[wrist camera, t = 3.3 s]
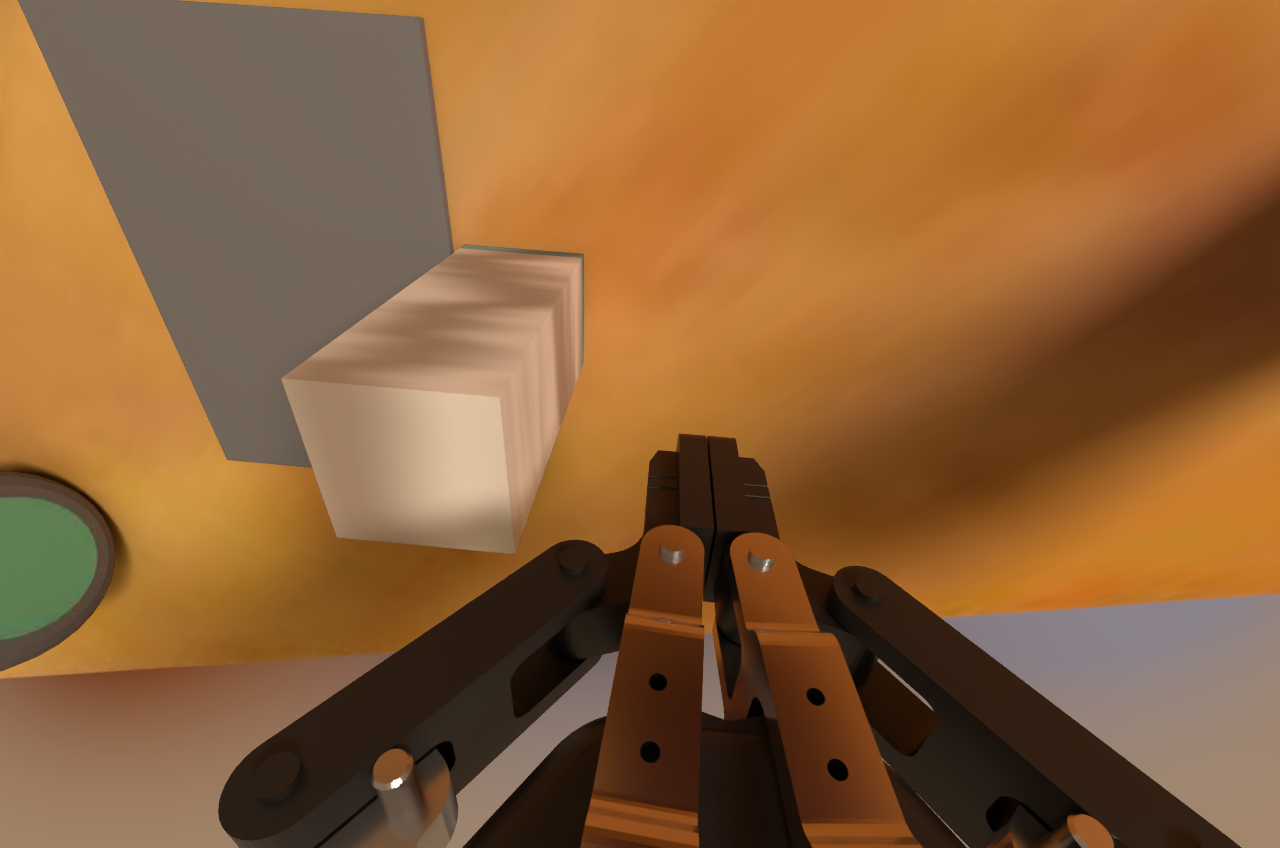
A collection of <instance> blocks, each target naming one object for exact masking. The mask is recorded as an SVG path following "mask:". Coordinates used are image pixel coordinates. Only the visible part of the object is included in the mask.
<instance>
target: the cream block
mask: <svg viewBox="0 0 1280 848" xmlns="http://www.w3.org/2000/svg"><path fill="white" fill-rule="evenodd" d="M583 343H584V254H577V253H564V252H551V251H539V250H526V249H514V248H501V247H489V246H476V245H464V246H462V247H461V248H459V249H458V250H457V251H455V252H454V253H453V254H451V255H450V256H448V257H447V258H446V259H444V260H443V261H442V262H440V263H439V264H437V265H436V266H435V267H433V268H432V269H431V270H429V271H428V272H426V273H425V274H424V275H422V276H421V277H420V278H418V279H417V280H415V281H414V282H413V283H411V284H410V285H409V286H407V287H406V288H405V289H403V290H402V291H400V292H399V293H398V294H396V295H395V296H394V297H392V298H391V299H389V300H388V301H387V302H385V303H384V304H383V305H381V306H380V307H378V308H377V309H376V310H374V311H373V312H372V313H370V314H369V315H367V316H366V317H365V318H363V319H362V320H361V321H359V322H358V323H356V324H355V325H354V326H352V327H351V328H350V329H348V330H347V331H345V332H344V333H343V334H341V335H340V336H339V337H337V338H336V339H334V340H333V341H332V342H330V343H329V344H328V345H326V346H325V347H323V348H322V349H321V350H319V351H318V352H317V353H315V354H314V355H312V356H311V357H310V358H308V359H307V360H306V361H304V362H303V363H301V364H300V365H299V366H297V367H296V368H295V369H293V370H292V371H290V372H289V373H288V374H286V375H285V376H284V377H282V378H281V380H282V382H283V385H284V388H285V391H286V394H287V397H288V400H289V402H290V405H291V408H292V411H293V414H294V417H295V420H296V422H297V425H298V428H299V431H300V434H301V437H302V440H303V442H304V445H305V448H306V451H307V454H308V457H309V460H310V462H311V465H312V468H313V471H314V474H315V477H316V480H317V482H318V485H319V488H320V491H321V494H322V497H323V500H324V502H325V505H326V508H327V511H328V514H329V517H330V520H331V522H332V525H333V528H334V531H335V534H336V537H337V538H346V539H357V540H368V541H378V542H389V543H400V544H410V545H421V546H432V547H442V548H453V549H464V550H475V551H485V552H496V553H507V554H515V553H516V550H517V547H518V544H519V542H520V539H521V536H522V533H523V530H524V528H525V525H526V522H527V519H528V516H529V514H530V511H531V508H532V505H533V502H534V500H535V497H536V494H537V491H538V488H539V486H540V483H541V480H542V477H543V474H544V472H545V469H546V466H547V463H548V460H549V458H550V455H551V452H552V449H553V446H554V444H555V441H556V438H557V435H558V432H559V430H560V427H561V424H562V421H563V418H564V416H565V413H566V410H567V407H568V404H569V402H570V399H571V396H572V393H573V390H574V388H575V385H576V382H577V379H578V376H579V374H580V371H581V368H582V365H583Z"/></svg>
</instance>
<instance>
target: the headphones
mask: <svg viewBox="0 0 1280 848" xmlns="http://www.w3.org/2000/svg"><path fill="white" fill-rule="evenodd" d="M114 565H115V547H114V543H113V539H112V535H111V531H110V529H109V527H108V525H107V523H106V521H105V520H104V518H103V516H102V515H101V514H100V512H99V511H98V510H97V509H96V508H95V507H94V505H93V504H92V503H91V502H90V501H88V500H87V499H86V498H84V497H83V496H82V495H81V494H79V493H78V492H77V491H75V490H73V489H71V488H69V487H67V486H65V485H63V484H61V483H59V482H56V481H53V480H50V479H47V478H44V477H41V476H38V475H31V474H25V473H19V472H10V471H0V671H3V670H6V669H8V668H11V667H13V666H16V665H18V664H21V663H23V662H26V661H28V660H31V659H33V658H35V657H37V656H39V655H41V654H43V653H44V652H46V651H48V650H50V649H52V648H53V647H55V646H57V645H59V644H60V643H61V642H62V641H64V640H65V639H66V638H68V637H69V636H70V635H71V634H73V633H74V632H75V631H77V630H78V629H79V628H80V627H81V626H82V625H83V624H84V622H85V621H86V620H87V619H88V618H89V617H90V616H91V615H92V614H93V613H94V611H95V610H96V608H97V607H98V605H99V604H100V602H101V601H102V599H103V598H104V596H105V593H106V591H107V589H108V587H109V584H110V582H111V579H112V574H113V570H114Z"/></svg>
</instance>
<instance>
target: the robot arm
mask: <svg viewBox="0 0 1280 848" xmlns="http://www.w3.org/2000/svg"><path fill="white" fill-rule="evenodd" d="M702 598H703V601H705V602H715V613H716V615H715V619H714V624H713V629H712V631H713V640H714V646H715V653H716V660H717V666H718V673H719V680H720V686H721V693H722V700H723V707H724V720H723V719H721V718H718V717H715V716H712V715H709V714H707V713H704V712H702V709H701V708H702V684H703V656H704V625H702ZM615 651H619V654H618V659H617V664H616V670H615V675H614V680H613V685H612V691H611V696H610V701H609V707H608V712H607V716H605V717H602V718H599V719H596V720H594V721H591V722H589V723H587V724H585V725H583V726H582V727H580V728H579V729H577V730H575V731H574V732H572V733H571V734H570V735H569V736H567V737H566V738H565V739H564V740H563V741H561V742H560V743H559V744H558V745H557V746H556V747H555V748H554V749H553V751H552V752H551V753H550V754H549V755H548V756H547V757H546V758H545V759H544V760H543V761H542V763H540V764H539V766H538V767H537V768H536V769H535V770H534V771H533V772H532V773H531V774H530V775H529V776H528V778H526V780H525V781H524V782H523V783H522V784H521V785H520V786H519V787H518V788H517V789H516V790H515V792H513V794H512V795H511V796H510V797H509V798H508V799H507V800H506V801H505V802H504V803H503V804H502V806H500V808H499V809H498V810H497V811H496V812H495V813H494V814H493V815H492V816H491V817H490V818H489V819H488V820H487V822H486V823H485V824H484V825H483V826H482V827H481V828H480V829H479V830H478V831H477V832H476V833H475V835H474V836H473V837H472V838H471V839H470V840H469V841H468V842H467V843H466V844H465V845H464V846H463V848H967V847H965V845H964V844H963V843H962V842H961V841H960V840H959V839H958V838H957V837H956V836H955V834H954V833H953V832H952V831H951V830H950V829H949V828H948V827H947V826H946V825H945V824H944V823H943V821H944V822H945V823H946V824H947V825H948V826H949V827H950V828H951V829H952V830H953V831H954V832H955V833H956V834H957V835H958V836H959V837H960V838H961V839H962V840H963V841H964V842H965V843H966V844H967V845H968V846H969V847H970V848H1241V847H1240V846H1238V845H1237V844H1236V843H1235V842H1234V841H1233V840H1231V839H1230V838H1229V837H1227V836H1226V835H1225V834H1223V833H1222V832H1221V831H1219V830H1218V829H1217V828H1216V827H1214V826H1213V825H1212V824H1210V823H1209V822H1207V821H1206V820H1205V819H1204V818H1202V817H1201V816H1200V815H1198V814H1197V813H1196V812H1195V811H1193V810H1192V809H1191V808H1189V807H1188V806H1187V805H1185V804H1184V803H1183V802H1181V801H1180V800H1179V799H1177V798H1176V797H1175V796H1173V795H1172V794H1171V793H1169V792H1168V791H1167V790H1165V789H1164V788H1163V787H1162V786H1160V785H1159V784H1158V783H1156V782H1155V781H1154V780H1152V779H1151V778H1150V777H1149V776H1147V775H1146V774H1145V773H1143V772H1142V771H1140V770H1139V769H1138V768H1137V767H1135V766H1134V765H1133V764H1131V763H1130V762H1129V761H1127V760H1126V759H1125V758H1124V757H1122V756H1121V755H1120V754H1118V753H1117V752H1116V751H1114V750H1113V749H1112V748H1110V747H1109V746H1108V745H1107V744H1105V743H1104V742H1103V741H1101V740H1100V739H1099V738H1097V737H1096V736H1095V735H1093V734H1092V733H1091V732H1089V731H1088V730H1087V729H1086V728H1084V727H1083V726H1081V725H1080V724H1079V723H1078V722H1076V721H1075V720H1073V719H1072V718H1071V717H1070V716H1068V715H1067V714H1065V713H1064V712H1063V711H1062V710H1061V709H1059V708H1058V707H1056V706H1055V705H1054V704H1053V703H1051V702H1050V701H1049V700H1047V699H1046V698H1045V697H1044V696H1042V695H1041V694H1040V693H1038V692H1037V691H1036V690H1034V689H1033V688H1032V687H1030V686H1029V685H1028V684H1026V683H1025V682H1024V681H1023V680H1021V679H1020V678H1018V677H1017V676H1016V675H1015V674H1013V673H1012V672H1011V671H1009V670H1008V669H1007V668H1005V667H1004V666H1003V665H1001V664H1000V663H999V662H998V661H996V660H995V659H994V658H992V657H991V656H990V655H988V654H987V653H986V652H984V651H983V650H982V649H981V648H979V647H978V646H977V645H975V644H974V643H973V642H971V641H970V640H968V639H967V638H966V637H965V636H963V635H962V634H961V633H960V632H958V631H957V630H956V629H954V628H953V627H952V626H950V625H949V624H948V623H946V622H945V621H944V620H942V619H941V618H940V617H939V616H937V615H936V614H935V613H933V612H932V611H931V610H929V609H928V608H927V607H925V606H924V605H923V604H921V603H920V602H919V601H917V600H916V599H915V598H914V597H912V596H911V595H910V594H908V593H907V592H906V591H904V590H903V589H902V588H900V587H899V586H898V585H896V584H895V583H894V582H893V581H891V580H890V579H889V578H887V577H886V576H884V575H883V574H881V573H879V572H877V571H875V570H873V569H870V568H866V567H862V566H848V567H844V568H842V569H840V570H839V571H838V572H837V573H836V574H835V576H834V577H833V576H830V575H827V574H824V573H821V572H818V571H815V570H813V569H810V568H807V567H805V566H803V565H802V564H800V563H798V562H797V561H795V560H794V557H793V554H792V552H791V551H790V549H789V548H788V547H787V546H786V545H785V544H784V543H783V542H781V541H780V538H779V534H778V529H777V525H776V520H775V516H774V512H773V507H772V503H771V499H770V494H769V490H768V488H767V481H766V476H765V472H764V470H763V469H762V468H761V467H760V465H759V464H758V463H757V462H756V461H755V459H754V458H742V457H739V456H738V450H737V444H736V439H735V438H726V437H715V436H708V437H707V438H706V436H702V435H690V434H679V436H678V443H677V451H676V452H672V451H660V450H658V452H657V453H656V454H655V455H654V457H653V458H652V459H651V460H650V464H649V475H648V486H647V496H646V508H645V521H644V533H643V536H642V537H641V539H640V540H639V541H638V542H637V543H636V544H635V545H633V546H632V547H630V548H628V549H626V550H623V551H620V552H615V553H609V554H604V553H603V552H602V550H601V549H600V548H598V547H597V546H596V545H594V544H592V543H590V542H587V541H582V540H568V541H563V542H560V543H558V544H556V545H554V546H552V547H551V548H549V549H548V550H546V551H545V552H543V553H542V554H540V555H539V556H537V557H536V558H534V559H533V560H531V561H530V562H529V563H527V564H526V565H524V566H523V567H521V568H520V569H518V570H517V571H515V572H514V573H512V574H511V575H509V576H508V577H506V578H505V579H504V580H502V581H501V582H499V583H498V584H496V585H495V586H493V587H492V588H490V589H489V590H487V591H486V592H484V593H483V594H481V595H480V596H479V597H477V598H476V599H474V600H473V601H471V602H470V603H468V604H467V605H465V606H464V607H462V608H461V609H459V610H458V611H456V612H455V613H454V614H452V615H451V616H449V617H448V618H446V619H445V620H443V621H442V622H440V623H439V624H437V625H436V626H434V627H433V628H431V629H430V630H429V631H427V632H426V633H424V634H423V635H421V636H420V637H418V638H417V639H415V640H414V641H412V642H411V643H409V644H408V645H406V646H405V647H404V648H402V649H401V650H399V651H398V652H396V653H395V654H393V655H392V656H390V657H389V658H387V659H386V660H384V661H383V662H382V663H380V664H379V665H377V666H376V667H374V668H373V669H371V670H370V671H368V672H367V673H365V674H364V675H362V676H361V677H359V678H358V679H357V680H355V681H354V682H352V683H351V684H349V685H348V686H346V687H345V688H343V689H342V690H340V691H339V692H337V693H336V694H334V695H333V696H332V697H330V698H329V699H327V700H326V701H324V702H323V703H321V704H320V705H319V706H317V707H315V708H314V709H312V710H311V711H309V712H308V713H306V714H305V715H304V716H302V717H301V718H299V719H298V720H296V721H295V722H293V723H292V724H291V725H289V726H287V727H286V728H285V729H283V730H281V731H280V732H279V733H277V734H276V735H274V736H273V737H271V738H270V739H268V740H267V741H265V742H264V743H262V744H261V745H260V746H258V747H257V748H256V749H254V750H253V751H252V752H251V753H250V754H249V755H247V756H246V757H245V758H244V759H243V761H242V762H241V763H240V764H239V765H238V766H237V767H236V769H235V770H234V771H233V773H232V774H231V775H230V777H229V779H228V781H227V782H226V784H225V787H224V789H223V791H222V794H221V797H220V801H219V809H218V810H219V811H218V813H219V820H220V823H221V825H222V827H223V829H224V830H225V831H226V832H227V834H228V835H229V836H230V837H231V838H232V839H233V840H234V842H235V843H236V844H237V845H238V846H239V848H446V846H447V844H448V843H449V841H450V839H451V837H452V835H453V833H454V830H455V827H456V823H457V818H458V803H457V798H456V795H457V794H458V793H459V792H460V791H461V790H462V789H463V788H464V787H465V786H466V785H467V784H468V783H469V782H471V781H472V780H473V779H474V778H475V777H476V776H477V775H478V774H479V773H480V772H481V771H482V770H483V769H484V768H485V767H486V766H487V765H489V764H490V763H491V762H492V761H493V760H494V759H495V758H496V757H497V756H498V755H499V754H500V753H502V752H503V751H504V750H505V749H506V748H507V747H508V746H509V745H510V744H511V743H512V742H513V741H514V740H515V739H516V738H518V737H519V736H520V735H521V734H522V733H523V732H524V731H525V730H526V729H527V728H528V727H529V726H530V725H531V724H532V723H534V722H535V721H536V720H537V719H538V718H539V717H540V716H541V715H542V714H543V713H544V712H545V711H546V710H547V709H548V708H550V707H551V706H552V705H553V704H554V703H555V702H556V701H557V700H558V699H559V698H560V697H561V696H562V695H563V694H564V693H566V692H567V691H568V690H569V689H570V688H571V687H572V686H573V685H574V684H575V683H576V682H577V681H578V680H580V679H581V678H582V677H583V676H584V675H585V674H586V673H587V672H588V671H589V670H590V669H591V668H592V667H593V666H595V664H596V663H597V662H598V661H599V660H600V658H601V656H602V655H603V654H607V653H612V652H615ZM878 658H879V659H880V660H882V661H883V662H884V663H885V664H886V665H887V666H888V667H889V668H891V669H892V670H893V671H894V672H895V673H896V674H897V675H898V676H900V677H901V678H902V679H903V680H904V681H905V682H906V683H907V684H909V685H910V686H911V687H912V688H913V689H914V690H915V691H916V692H918V693H919V694H920V695H921V696H922V697H923V698H924V699H925V700H926V701H927V702H928V703H929V704H930V705H931V707H932V708H933V710H934V711H932V710H931V709H930V708H929V707H928V706H927V705H926V704H924V703H923V702H922V701H921V700H920V699H919V698H918V697H917V696H916V695H914V694H913V693H912V692H911V691H910V690H909V689H908V688H907V687H905V686H904V685H903V684H902V683H901V682H900V681H899V680H898V679H897V678H895V677H894V676H893V675H892V674H891V673H890V672H889V671H887V670H886V669H885V668H884V667H883V666H882V665H881V664H880V663H879V662H878V661H877V660H878ZM882 758H883V759H884V760H885V761H886V762H887V763H888V764H889V765H890V766H891V767H892V768H893V769H894V770H893V769H892V768H891V767H890V766H889V765H888V764H886V762H884V761H883V760H882ZM918 795H919V796H920V797H921V798H922V799H923V800H924V801H925V802H926V803H927V804H928V805H929V806H930V807H931V808H932V809H933V810H934V811H935V812H936V814H938V816H939V817H940V818H941V819H942V820H943V821H941V819H940V818H939V817H938V816H937V815H936V814H935V813H934V812H933V811H932V810H931V809H930V808H929V807H928V805H927V804H926V803H925V802H924V801H923V800H922V799H921V798H920V797H919V796H918Z"/></svg>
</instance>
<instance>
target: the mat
mask: <svg viewBox="0 0 1280 848" xmlns="http://www.w3.org/2000/svg"><path fill="white" fill-rule="evenodd" d="M18 2H19V4H20V6H21V8H22V10H23V13H24V15H25V17H26V19H27V21H28V24H29V26H30V28H31V30H32V32H33V35H34V37H35V39H36V41H37V43H38V46H39V48H40V50H41V52H42V54H43V57H44V59H45V61H46V63H47V65H48V68H49V70H50V72H51V74H52V76H53V78H54V81H55V83H56V85H57V87H58V89H59V92H60V94H61V96H62V98H63V100H64V103H65V105H66V107H67V109H68V111H69V114H70V116H71V118H72V120H73V122H74V125H75V127H76V129H77V131H78V133H79V136H80V138H81V140H82V142H83V144H84V147H85V149H86V151H87V153H88V155H89V158H90V160H91V162H92V164H93V166H94V168H95V171H96V173H97V175H98V177H99V179H100V182H101V184H102V186H103V188H104V190H105V193H106V195H107V197H108V199H109V201H110V204H111V206H112V208H113V210H114V212H115V215H116V217H117V219H118V221H119V223H120V226H121V228H122V230H123V232H124V234H125V237H126V239H127V241H128V243H129V245H130V248H131V250H132V252H133V254H134V256H135V258H136V261H137V263H138V265H139V267H140V269H141V272H142V274H143V276H144V278H145V280H146V283H147V285H148V287H149V289H150V291H151V294H152V296H153V298H154V300H155V302H156V305H157V307H158V309H159V311H160V313H161V316H162V318H163V320H164V322H165V324H166V327H167V329H168V331H169V333H170V335H171V338H172V340H173V342H174V344H175V346H176V348H177V351H178V353H179V355H180V357H181V359H182V362H183V364H184V366H185V368H186V370H187V373H188V375H189V377H190V379H191V381H192V384H193V386H194V388H195V390H196V392H197V395H198V397H199V399H200V401H201V403H202V406H203V408H204V410H205V412H206V414H207V417H208V419H209V421H210V423H211V425H212V428H213V430H214V432H215V434H216V436H217V438H218V441H219V443H220V445H221V447H222V449H223V452H224V454H225V456H226V458H227V460H233V461H244V462H256V463H267V464H278V465H289V466H300V467H311V468H312V465H311V462H310V460H309V457H308V454H307V451H306V448H305V445H304V442H303V440H302V437H301V434H300V431H299V428H298V425H297V422H296V420H295V417H294V414H293V411H292V408H291V405H290V402H289V400H288V397H287V394H286V391H285V388H284V385H283V382H282V380H281V378H282V377H284V376H285V375H286V374H288V373H289V372H290V371H292V370H293V369H295V368H296V367H297V366H299V365H300V364H301V363H303V362H304V361H306V360H307V359H308V358H310V357H311V356H312V355H314V354H315V353H317V352H318V351H319V350H321V349H322V348H323V347H325V346H326V345H328V344H329V343H330V342H332V341H333V340H334V339H336V338H337V337H339V336H340V335H341V334H343V333H344V332H345V331H347V330H348V329H350V328H351V327H352V326H354V325H355V324H356V323H358V322H359V321H361V320H362V319H363V318H365V317H366V316H367V315H369V314H370V313H372V312H373V311H374V310H376V309H377V308H378V307H380V306H381V305H383V304H384V303H385V302H387V301H388V300H389V299H391V298H392V297H394V296H395V295H396V294H398V293H399V292H400V291H402V290H403V289H405V288H406V287H407V286H409V285H410V284H411V283H413V282H414V281H415V280H417V279H418V278H420V277H421V276H422V275H424V274H425V273H426V272H428V271H429V270H431V269H432V268H433V267H435V266H436V265H437V264H439V263H440V262H442V261H443V260H444V259H446V258H447V257H448V256H450V255H451V254H453V253H454V250H453V243H452V235H451V227H450V220H449V212H448V204H447V196H446V189H445V181H444V173H443V166H442V158H441V150H440V143H439V135H438V127H437V119H436V112H435V104H434V96H433V89H432V81H431V73H430V66H429V58H428V50H427V43H426V35H425V27H424V19H423V18H420V17H411V16H397V15H382V14H368V13H353V12H339V11H324V10H310V9H295V8H281V7H266V6H252V5H237V4H223V3H208V2H194V1H180V0H18Z"/></svg>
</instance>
